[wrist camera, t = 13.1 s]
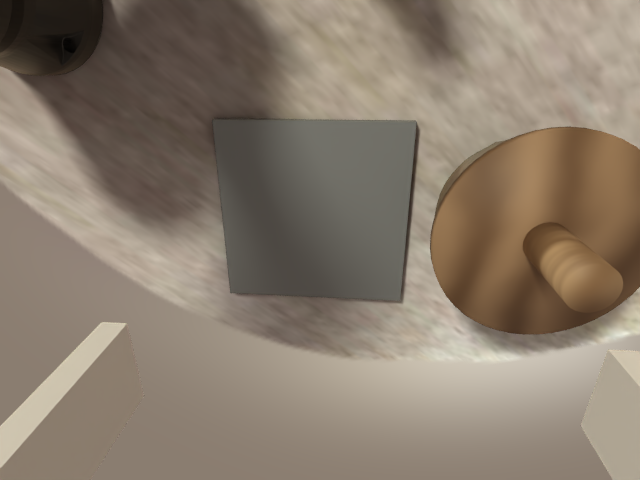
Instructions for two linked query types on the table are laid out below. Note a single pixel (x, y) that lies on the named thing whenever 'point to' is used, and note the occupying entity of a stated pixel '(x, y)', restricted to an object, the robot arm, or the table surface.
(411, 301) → the table surface
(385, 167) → the mat
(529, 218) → the lid
